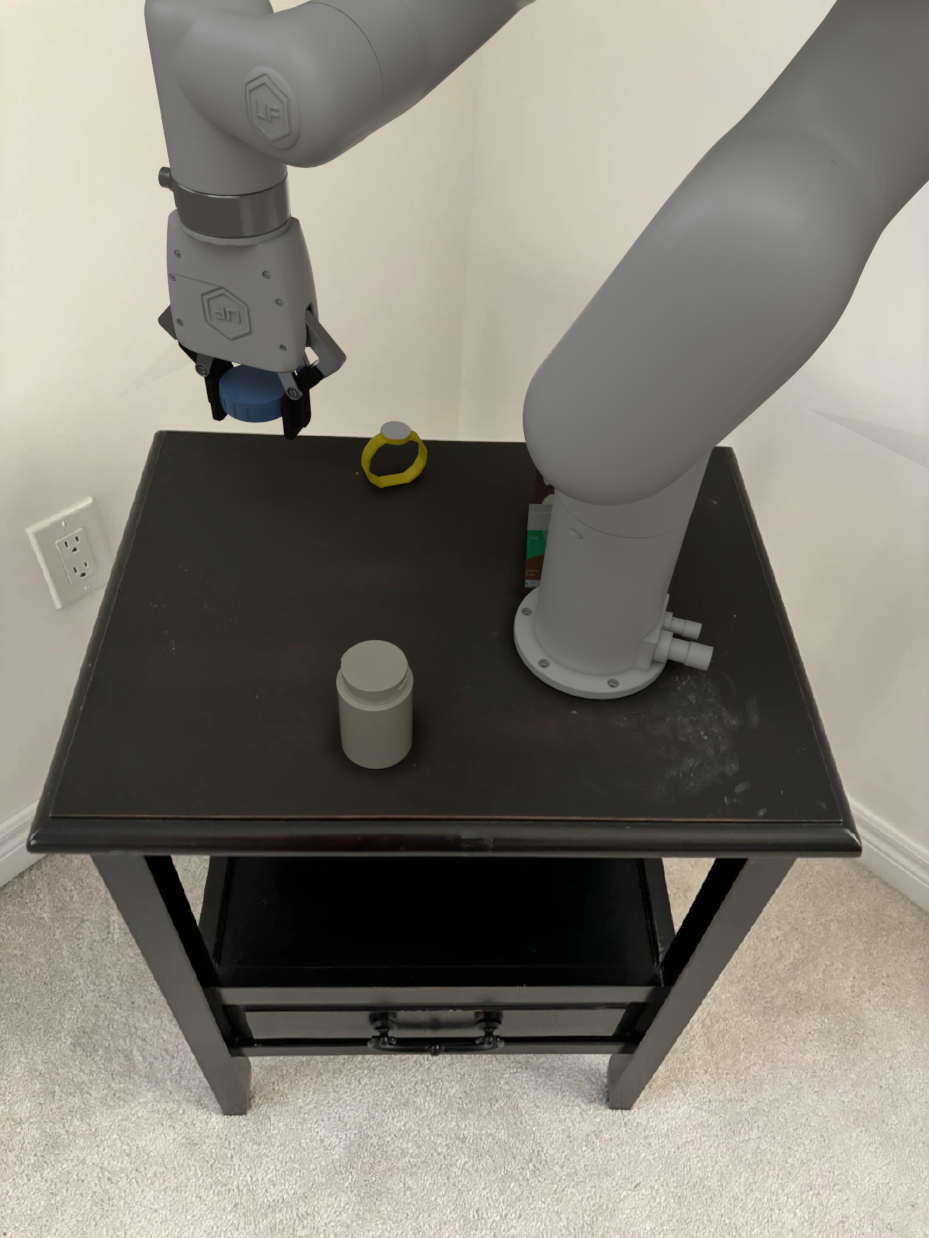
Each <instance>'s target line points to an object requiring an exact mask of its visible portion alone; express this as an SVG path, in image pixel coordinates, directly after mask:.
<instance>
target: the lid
mask: <svg viewBox="0 0 929 1238" xmlns="http://www.w3.org/2000/svg"><path fill="white" fill-rule="evenodd" d="M219 388H220V390H219V396H220V402H221V405H222V406H223V409H224V410H225V413H227V414H228V415H227V416H229V417H230V418H233V419H235V420H236V421H237V420H238V421H239V422H240V421H241V422H245V423H252V424H253V423H254V424H259V423H268V422H271V421H272V422H273V421H275V420H278V419H280V418H282V413H281V403H280V400H281V397H282V396H283V395H284V394H285V389H284V387H283V385H282V383H281V380H280V378H279V376H278V374H277V373H275V372H270V371H266V370H262V369H258V368H254V367H250V366H246V365H242V364H238V365H234V367H233V368H231V369H229V370H228V371H227V372H226V373H225V374H224V375H223V376H222V377H221V379H220V381H219Z"/></svg>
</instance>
